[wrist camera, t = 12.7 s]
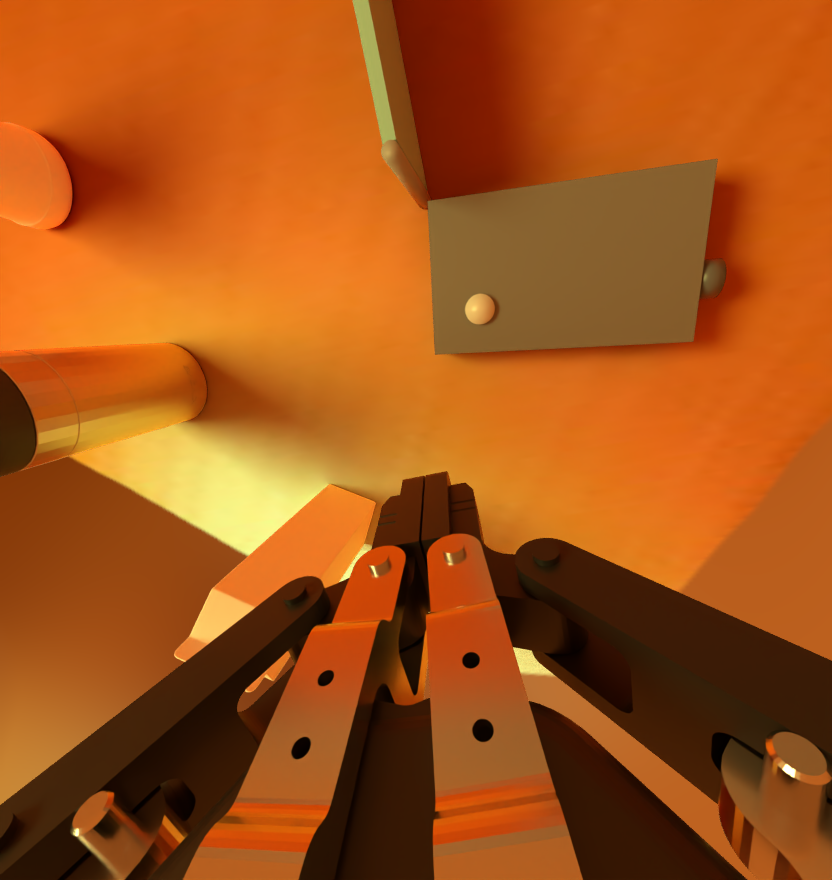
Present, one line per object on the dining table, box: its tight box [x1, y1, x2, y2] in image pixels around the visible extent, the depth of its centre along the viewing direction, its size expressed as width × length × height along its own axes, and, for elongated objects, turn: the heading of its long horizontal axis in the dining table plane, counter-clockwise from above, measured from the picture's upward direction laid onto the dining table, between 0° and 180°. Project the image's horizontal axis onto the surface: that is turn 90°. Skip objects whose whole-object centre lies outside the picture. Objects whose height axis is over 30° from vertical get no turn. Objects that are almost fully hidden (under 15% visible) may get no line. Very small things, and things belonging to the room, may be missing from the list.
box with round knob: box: [428, 159, 726, 355], centre depth 31 cm, size 22×12×4 cm, turn 94°
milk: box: [174, 484, 376, 692], centre depth 35 cm, size 6×6×22 cm
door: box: [353, 0, 431, 209], centre depth 27 cm, size 18×1×10 cm, turn 13°
